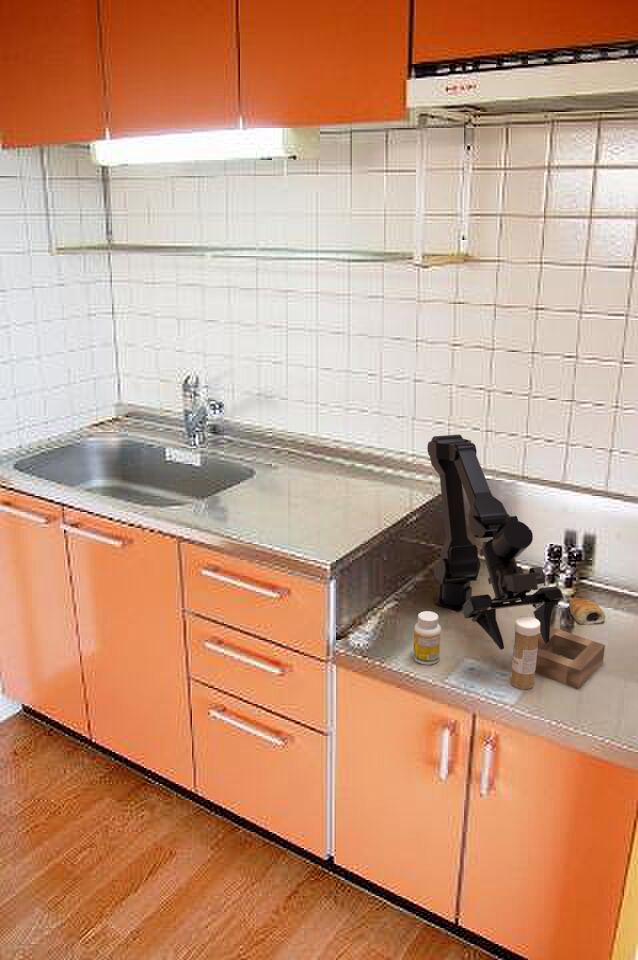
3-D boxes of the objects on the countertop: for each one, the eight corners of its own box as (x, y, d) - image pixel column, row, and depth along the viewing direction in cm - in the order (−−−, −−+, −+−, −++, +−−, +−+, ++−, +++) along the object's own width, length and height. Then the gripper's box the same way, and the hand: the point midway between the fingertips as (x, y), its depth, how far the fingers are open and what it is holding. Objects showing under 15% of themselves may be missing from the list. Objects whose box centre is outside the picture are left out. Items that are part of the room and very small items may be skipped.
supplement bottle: (435, 667, 156) (437, 624, 153) (409, 662, 158) (411, 619, 155) (442, 654, 160) (445, 612, 157) (417, 649, 162) (419, 607, 159)
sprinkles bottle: (506, 677, 152) (511, 615, 148) (529, 676, 153) (535, 614, 148) (514, 691, 148) (520, 627, 144) (538, 689, 148) (544, 626, 144)
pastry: (560, 606, 180) (562, 591, 179) (589, 604, 181) (590, 589, 180) (578, 626, 171) (580, 611, 170) (608, 625, 172) (610, 609, 171)
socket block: (519, 667, 156) (521, 649, 154) (546, 642, 164) (548, 625, 163) (578, 689, 148) (580, 670, 147) (602, 662, 157) (605, 645, 156)
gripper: (471, 557, 146) (494, 640, 139) (563, 547, 150) (589, 627, 143) (453, 578, 155) (473, 656, 149) (539, 568, 159) (563, 644, 153)
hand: (525, 645), depth 148 cm, fingers open, 9 cm apart
